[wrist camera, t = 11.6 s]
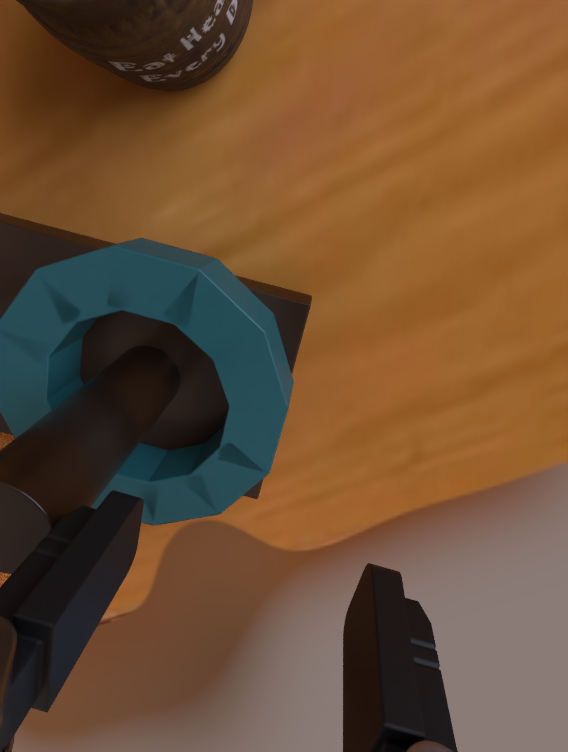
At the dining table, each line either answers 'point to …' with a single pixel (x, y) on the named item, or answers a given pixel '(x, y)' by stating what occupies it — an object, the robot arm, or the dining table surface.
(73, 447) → the rack
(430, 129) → the dining table surface
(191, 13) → the utensil holder
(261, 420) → the teal faceted ring
